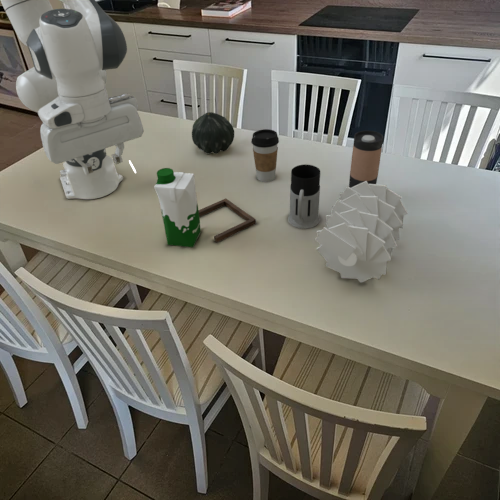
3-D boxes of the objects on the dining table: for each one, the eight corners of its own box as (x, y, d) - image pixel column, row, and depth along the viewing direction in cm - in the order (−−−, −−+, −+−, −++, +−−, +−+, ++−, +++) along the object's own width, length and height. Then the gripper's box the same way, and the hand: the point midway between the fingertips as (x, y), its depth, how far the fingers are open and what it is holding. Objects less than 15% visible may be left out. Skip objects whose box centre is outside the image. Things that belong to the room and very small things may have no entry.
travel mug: (376, 196, 132) (386, 132, 120) (370, 209, 127) (380, 144, 114) (350, 191, 135) (358, 128, 122) (343, 204, 130) (350, 140, 117)
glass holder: (321, 211, 127) (324, 164, 118) (315, 242, 117) (318, 192, 107) (290, 209, 129) (291, 162, 120) (282, 238, 118) (282, 189, 109)
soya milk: (174, 227, 124) (162, 162, 112) (205, 230, 123) (196, 164, 110) (163, 247, 118) (149, 180, 105) (196, 250, 116) (185, 182, 104)
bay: (188, 219, 127) (187, 214, 126) (226, 202, 133) (225, 198, 132) (216, 242, 118) (216, 238, 117) (256, 223, 124) (255, 219, 123)
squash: (221, 120, 167) (197, 98, 155) (248, 133, 159) (225, 111, 147) (201, 152, 168) (175, 133, 156) (226, 167, 160) (202, 148, 147)
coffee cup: (248, 181, 142) (246, 137, 133) (258, 169, 148) (257, 125, 139) (273, 185, 140) (273, 140, 130) (282, 172, 146) (282, 129, 136)
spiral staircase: (382, 245, 120) (360, 304, 102) (327, 210, 122) (296, 261, 103) (426, 197, 108) (410, 255, 90) (364, 158, 109) (335, 206, 91)
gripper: (127, 87, 94) (140, 147, 103) (29, 113, 85) (52, 177, 94) (141, 94, 90) (153, 157, 99) (39, 123, 81) (62, 189, 90)
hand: (103, 167), depth 96 cm, fingers open, 5 cm apart
